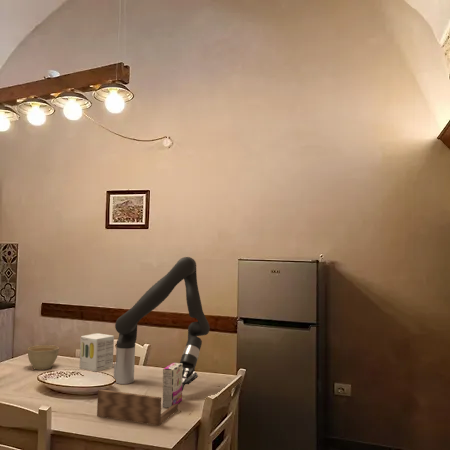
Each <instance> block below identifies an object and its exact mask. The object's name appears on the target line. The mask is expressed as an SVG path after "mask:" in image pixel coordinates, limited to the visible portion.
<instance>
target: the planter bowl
mask: <svg viewBox="0 0 450 450" xmlns="http://www.w3.org/2000/svg"><path fill="white" fill-rule="evenodd" d="M59 350H60V347H59V346H57V345H54V344H53V345H52V344H51V345H50V344H48V345H47V344H42V345H41V344H40V345H34V346H29V347H28V348H27V358H28V361H29V364H30V365H31V366H32V369H34V370H40V371H43V370H49V369H52V367H53V364H54V363H55V362H56V361H57V358H58V355H59Z"/></svg>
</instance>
